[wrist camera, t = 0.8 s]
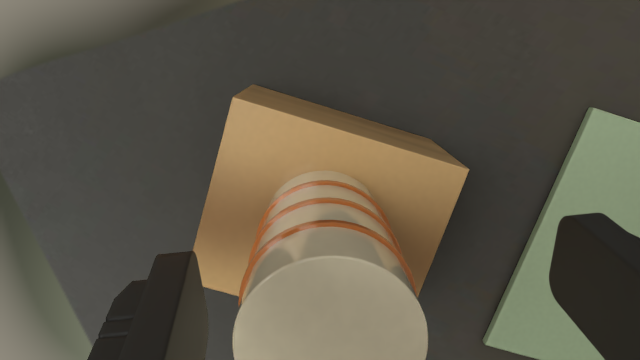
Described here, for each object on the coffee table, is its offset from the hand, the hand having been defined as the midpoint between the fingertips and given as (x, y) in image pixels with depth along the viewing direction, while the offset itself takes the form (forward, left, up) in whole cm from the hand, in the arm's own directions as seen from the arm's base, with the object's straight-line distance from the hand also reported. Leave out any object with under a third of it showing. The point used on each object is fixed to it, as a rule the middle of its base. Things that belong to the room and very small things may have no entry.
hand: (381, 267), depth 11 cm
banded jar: (+4, 0, -13) cm, 14 cm away
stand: (+4, 0, -21) cm, 21 cm away
